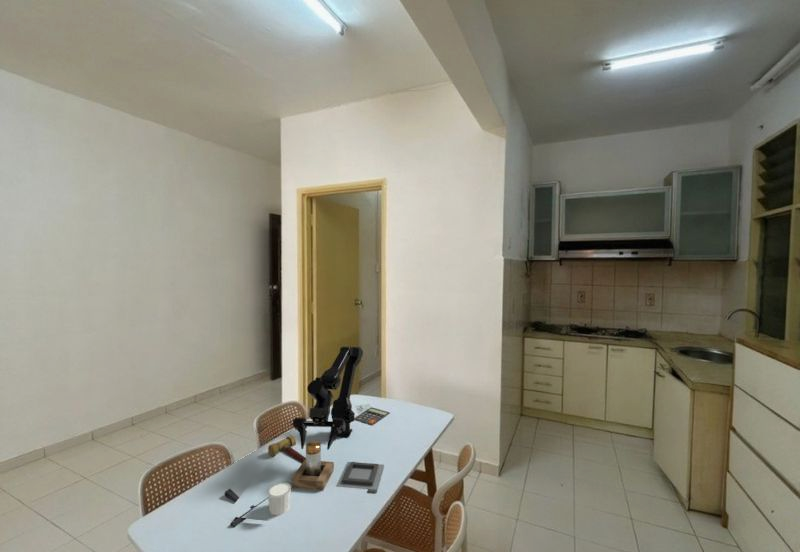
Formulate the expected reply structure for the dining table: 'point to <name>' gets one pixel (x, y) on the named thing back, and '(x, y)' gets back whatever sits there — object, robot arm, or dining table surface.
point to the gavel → (286, 448)
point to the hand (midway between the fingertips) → (315, 449)
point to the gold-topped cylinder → (313, 458)
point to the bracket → (234, 497)
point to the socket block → (313, 477)
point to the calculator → (371, 416)
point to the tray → (361, 476)
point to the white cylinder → (279, 498)
